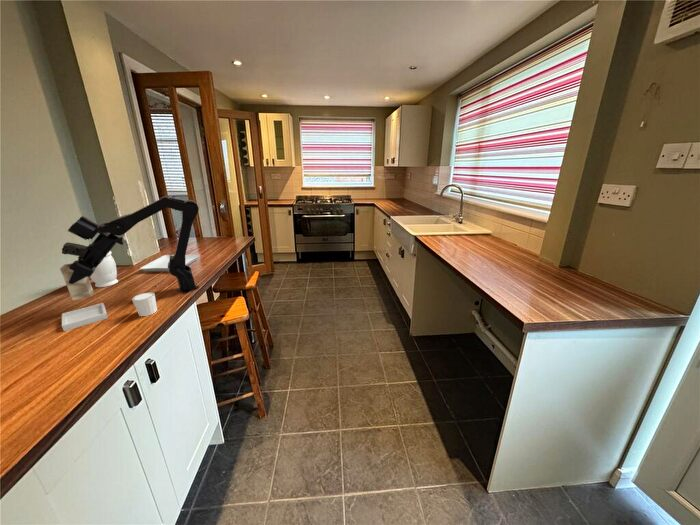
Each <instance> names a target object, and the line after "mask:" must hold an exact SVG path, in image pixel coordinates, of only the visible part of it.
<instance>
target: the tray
mask: <svg viewBox="0 0 700 525" xmlns="http://www.w3.org/2000/svg"><path fill="white" fill-rule="evenodd" d="M107 319H109V316H108V312H107V309H106V307H105V303H104V302H100V303H97V304H92V305H90V306H85V307H82V308H79V309H78V308H77V309H73V310H70V311H67V312H62V313H61V328H62V330H63V331H64V332H67V331H70V330H73V329H76V328H80V327H83V326H84V327H85V326H86V325H90V324H94V323H97V322H100V321H103V320H107Z"/></svg>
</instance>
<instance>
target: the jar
mask: <svg viewBox="0 0 700 525" xmlns="http://www.w3.org/2000/svg"><path fill="white" fill-rule="evenodd" d="M117 277H118V270H117V264H116V261H115V259H114V257H113V256H112V251H111V250H110V251H109V253H108V254H107V255H106V256H105V257H104V259H103V260H102V262H101V263H100V264H99V265H98V266H97V267H96V268H95V271H94V272H93V274H92V275H91V276H90V277H89V279H91V280H92V281H93V283H94V286H95V288H105V287H110V286H113V285H116V284H117V283H118V282H119V280H118V279H117Z"/></svg>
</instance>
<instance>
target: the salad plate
mask: <svg viewBox="0 0 700 525" xmlns="http://www.w3.org/2000/svg"><path fill="white" fill-rule="evenodd" d="M170 255H171V256H174V254H165V255H162V256H160V257H158V258H156V259H154V260H152V261H151V262H149V263H146V264H145V265H143V266H141V267H140V268H139V269H140V270H141V271H144V272H155V273H156V272H169V268H168V263H169V261H170ZM200 258H201V254H186V255H185V265H187V266H190V265H191V264H192V263H194V262H195V261H197V260H198V259H200Z"/></svg>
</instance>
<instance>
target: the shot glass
mask: <svg viewBox="0 0 700 525" xmlns="http://www.w3.org/2000/svg"><path fill="white" fill-rule="evenodd" d="M131 300H132V303H133V305H134V307H135V309H136V311H137V313H138V316H139V317H140V316H141V318H143V317H142V316H147V317H149V316H148V315H151V314H153V313H155V312H156V311H157V312H158V307H157V301H156V294H155V292H144V293H143V292H142V293H139V294H137V295H135V296H133V297H132V298H131ZM157 312H156V313H157ZM156 313H155V314H156ZM153 315H154V314H153ZM151 316H152V315H151Z"/></svg>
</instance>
